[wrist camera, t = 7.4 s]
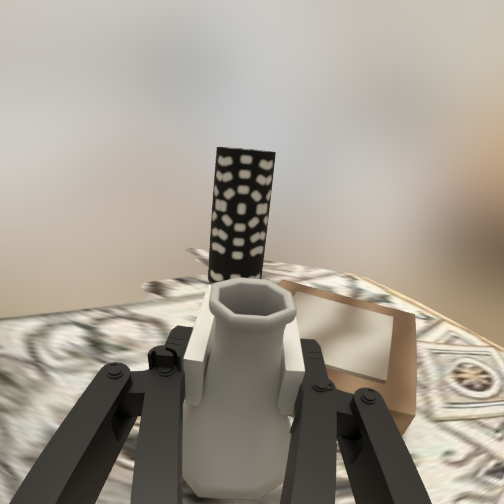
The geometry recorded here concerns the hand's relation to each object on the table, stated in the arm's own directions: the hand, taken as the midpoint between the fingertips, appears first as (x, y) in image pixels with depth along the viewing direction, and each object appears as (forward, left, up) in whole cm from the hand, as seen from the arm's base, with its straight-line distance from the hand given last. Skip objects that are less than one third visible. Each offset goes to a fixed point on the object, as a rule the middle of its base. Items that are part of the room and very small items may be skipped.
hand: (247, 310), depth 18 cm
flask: (+2, -5, -6) cm, 8 cm away
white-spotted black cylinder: (-14, +26, -12) cm, 32 cm away
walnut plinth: (+4, +13, -12) cm, 18 cm away
